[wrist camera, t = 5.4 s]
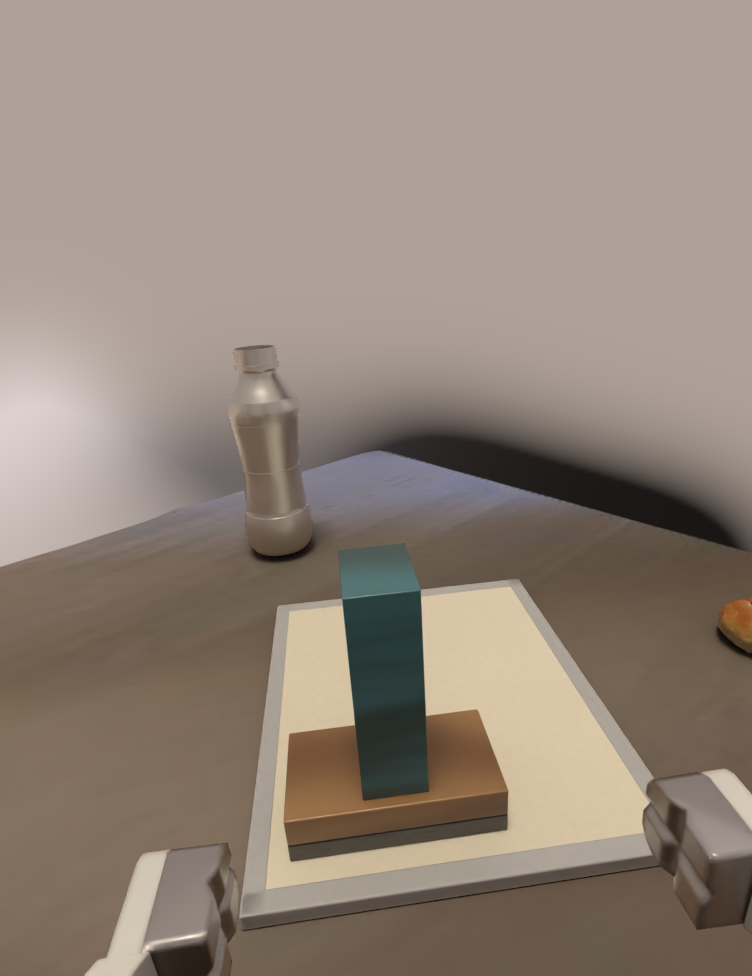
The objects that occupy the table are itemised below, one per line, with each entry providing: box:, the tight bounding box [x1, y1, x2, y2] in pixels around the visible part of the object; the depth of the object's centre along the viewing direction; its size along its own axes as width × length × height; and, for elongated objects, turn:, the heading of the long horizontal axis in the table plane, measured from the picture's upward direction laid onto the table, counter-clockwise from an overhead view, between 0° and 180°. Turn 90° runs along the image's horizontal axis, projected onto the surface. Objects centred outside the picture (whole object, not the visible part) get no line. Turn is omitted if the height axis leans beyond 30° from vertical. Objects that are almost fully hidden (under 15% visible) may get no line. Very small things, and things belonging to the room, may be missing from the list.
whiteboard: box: [239, 579, 658, 930], centre depth 34 cm, size 23×20×1 cm
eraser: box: [283, 543, 508, 861], centre depth 24 cm, size 5×10×13 cm, turn 96°
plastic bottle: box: [227, 345, 313, 556], centre depth 51 cm, size 6×7×20 cm
